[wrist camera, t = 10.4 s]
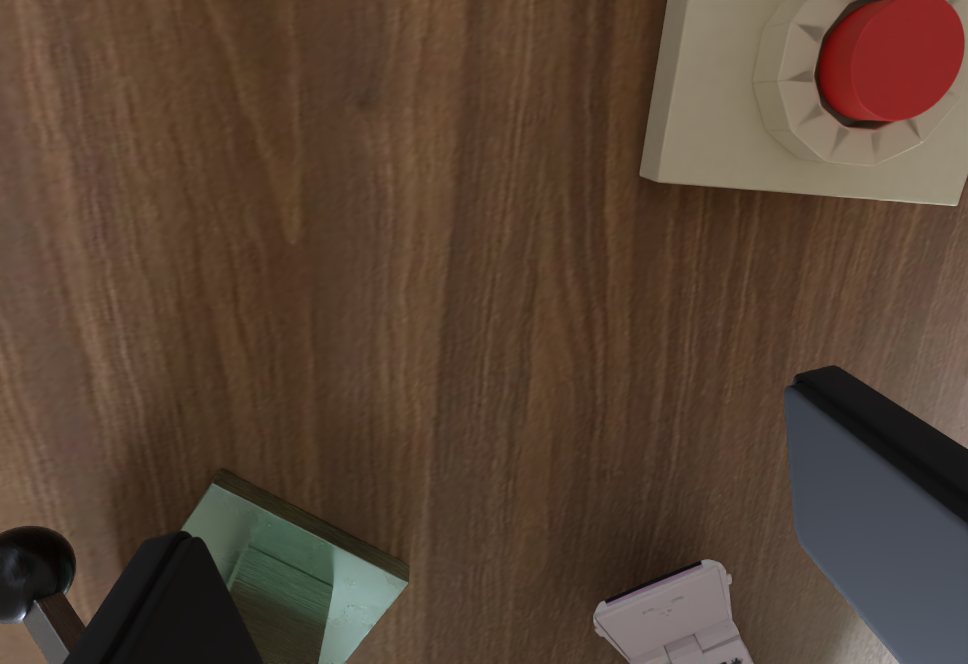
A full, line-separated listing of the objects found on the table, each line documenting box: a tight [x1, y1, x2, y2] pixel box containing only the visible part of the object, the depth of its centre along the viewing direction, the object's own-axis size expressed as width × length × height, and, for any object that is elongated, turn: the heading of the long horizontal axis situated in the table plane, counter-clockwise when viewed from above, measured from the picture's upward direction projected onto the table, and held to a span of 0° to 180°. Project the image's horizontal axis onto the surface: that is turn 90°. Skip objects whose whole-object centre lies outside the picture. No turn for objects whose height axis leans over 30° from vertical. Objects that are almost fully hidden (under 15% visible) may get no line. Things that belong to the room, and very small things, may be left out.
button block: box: [639, 0, 968, 206], centre depth 22 cm, size 12×9×4 cm
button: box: [819, 0, 965, 121], centre depth 20 cm, size 4×4×2 cm
